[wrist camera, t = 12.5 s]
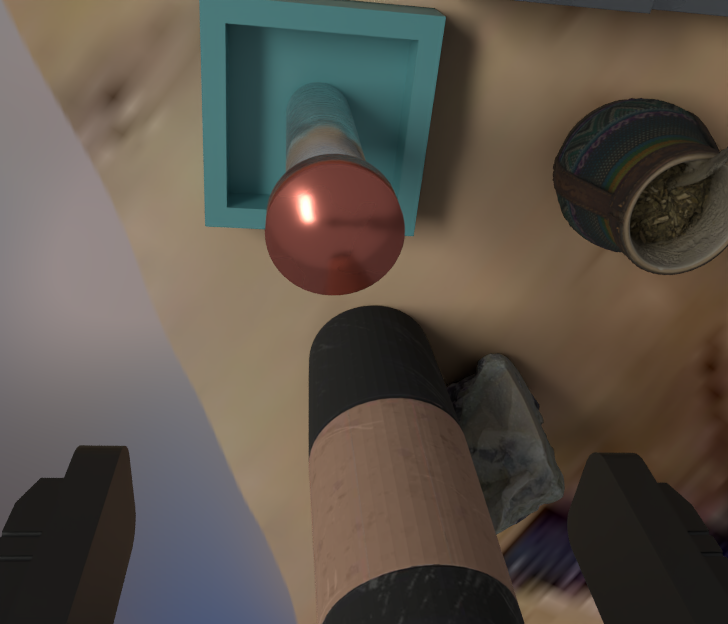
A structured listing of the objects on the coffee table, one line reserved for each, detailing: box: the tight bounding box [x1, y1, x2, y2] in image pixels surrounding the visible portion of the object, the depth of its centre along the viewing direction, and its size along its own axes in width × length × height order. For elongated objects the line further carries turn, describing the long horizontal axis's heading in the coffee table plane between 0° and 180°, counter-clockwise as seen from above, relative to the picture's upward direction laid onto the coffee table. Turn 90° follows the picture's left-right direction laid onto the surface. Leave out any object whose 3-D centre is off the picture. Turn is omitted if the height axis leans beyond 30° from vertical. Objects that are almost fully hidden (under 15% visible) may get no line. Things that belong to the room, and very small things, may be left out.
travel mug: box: [309, 306, 524, 624], centre depth 31 cm, size 8×8×20 cm
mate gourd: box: [553, 98, 728, 275], centre depth 30 cm, size 7×8×10 cm
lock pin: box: [265, 82, 405, 295], centre depth 26 cm, size 4×4×13 cm
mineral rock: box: [446, 353, 564, 535], centre depth 39 cm, size 13×11×10 cm
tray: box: [199, 0, 446, 236], centre depth 31 cm, size 10×10×2 cm
